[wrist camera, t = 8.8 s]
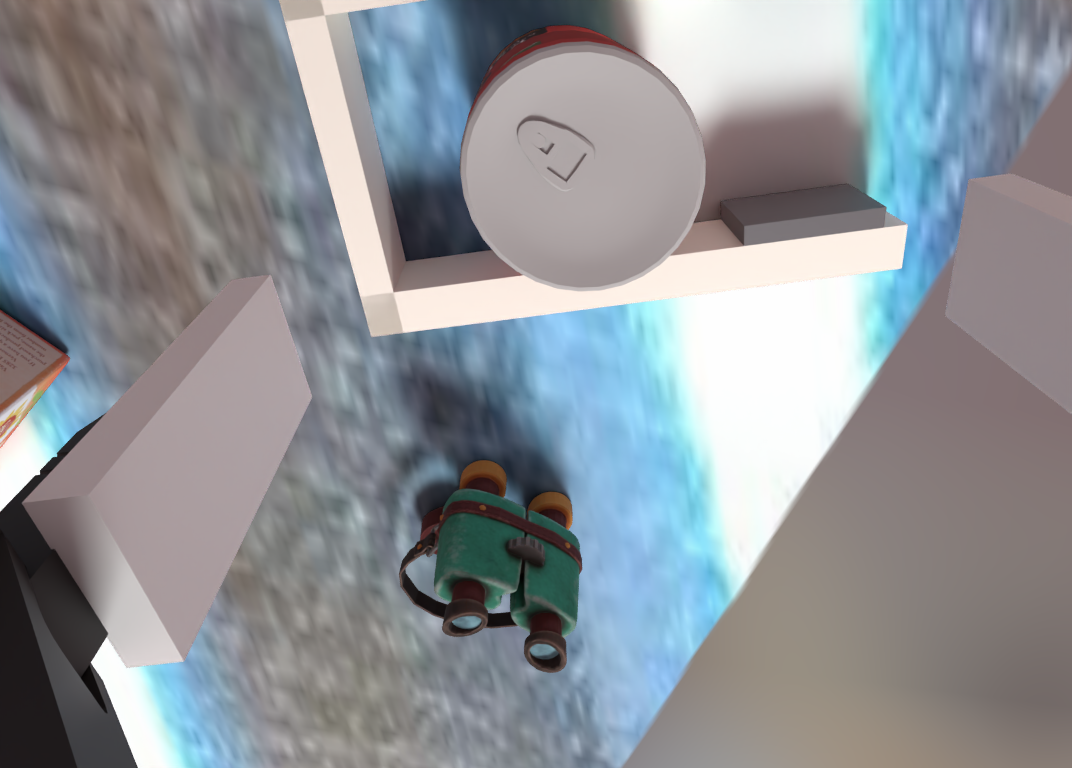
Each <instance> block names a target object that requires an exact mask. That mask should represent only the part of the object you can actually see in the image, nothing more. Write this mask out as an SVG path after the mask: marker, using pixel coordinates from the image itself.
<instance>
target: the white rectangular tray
mask: <svg viewBox="0 0 1072 768" xmlns="http://www.w3.org/2000/svg"><path fill="white" fill-rule="evenodd" d="M418 1H424V0H279V2H280V5H281V9H282V13H283V16H284V20H285V24H286V27H287V31H288V35H289V38H290V42H291V46H292V49H293V53H294V57H295V60H296V64H297V67H298V71H299V75H300V78H301V82H302V86H303V89H304V93H305V97H306V100H307V104H308V108H309V111H310V115H311V119H312V122H313V126H314V129H315V133H316V137H317V140H318V144H319V148H320V151H321V155H322V159H323V162H324V166H325V170H326V173H327V177H328V180H329V184H330V188H331V191H332V195H333V199H334V202H335V206H336V210H337V213H338V217H339V221H340V224H341V228H342V232H343V235H344V239H345V242H346V246H347V250H348V253H349V257H350V261H351V264H352V268H353V272H354V275H355V279H356V283H357V286H358V290H359V294H360V297H361V301H362V304H363V308H364V312H365V315H366V319H367V323H368V326H369V330H370V334H371V337H375V336H383V335H391V334H398V333H406V332H414V331H421V330H429V329H437V328H445V327H452V326H460V325H468V324H476V323H483V322H491V321H499V320H506V319H514V318H522V317H530V316H537V315H545V314H553V313H561V312H568V311H576V310H584V309H591V308H599V307H607V306H615V305H622V304H630V303H638V302H646V301H653V300H661V299H669V298H676V297H684V296H692V295H700V294H707V293H715V292H723V291H731V290H738V289H746V288H754V287H761V286H769V285H777V284H785V283H792V282H800V281H808V280H815V279H823V278H831V277H839V276H846V275H854V274H862V273H870V272H877V271H885V270H893V269H900V268H902V263H903V255H904V248H905V240H906V233H907V225H908V224H906V223H904V222H903V221H901V220H899V219H898V218H896V217H895V216H893V215H891V214H890V213H888V212H887V211H886V207H885V206H884V205H882V204H881V203H879V202H877V201H876V200H874V199H872V198H871V197H869V196H867V195H866V194H864V193H862V192H861V191H859V190H858V189H856V188H854V187H853V186H851V185H849V184H842V185H835V186H827V187H820V188H813V189H805V190H798V191H790V192H783V193H776V194H768V195H761V196H753V197H746V198H739V199H731V200H724V201H721V219H719V220H712V221H704V222H697V223H693V225H692V227H691V229H690V231H689V232H688V233H687V235H686V236H685V238H684V239H683V241H682V242H681V244H680V245H679V247H678V248H677V249H676V250H675V251H674V252H673V253H672V254H671V255H670V256H669V257H668V258H667V259H666V260H665V261H664V262H663V263H662V264H661V265H659V266H658V267H656V268H655V269H653V270H652V271H650V272H649V273H647V274H646V275H644V276H643V277H640V278H638V279H636V280H634V281H631V282H629V283H627V284H624V285H622V286H618V287H613V288H609V289H605V290H599V291H572V290H564V289H557V288H554V287H551V286H548V285H545V284H541V283H538V282H535V281H534V280H532V279H530V278H528V277H526V276H524V275H522V274H521V273H519V272H517V271H515V270H514V269H513V268H512V267H510V266H509V265H508V264H507V263H505V262H504V261H503V260H502V259H500V258H499V257H498V256H497V255H496V253H495V252H494V251H493V250H488V251H480V252H473V253H466V254H458V255H451V256H443V257H436V258H428V259H421V260H413V261H406V260H405V256H404V251H403V247H402V243H401V238H400V234H399V230H398V226H397V221H396V217H395V213H394V208H393V204H392V200H391V196H390V191H389V187H388V183H387V178H386V174H385V170H384V166H383V161H382V157H381V153H380V148H379V144H378V140H377V136H376V131H375V127H374V123H373V118H372V114H371V110H370V106H369V101H368V97H367V93H366V88H365V84H364V80H363V76H362V71H361V67H360V63H359V58H358V54H357V50H356V46H355V41H354V37H353V33H352V28H351V24H350V20H349V16H348V12H351V11H358V10H365V9H371V8H378V7H385V6H391V5H398V4H405V3H411V2H418Z"/></svg>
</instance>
